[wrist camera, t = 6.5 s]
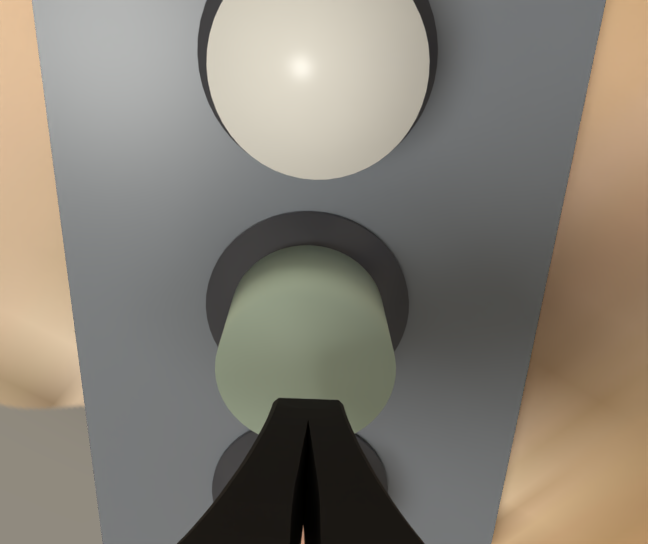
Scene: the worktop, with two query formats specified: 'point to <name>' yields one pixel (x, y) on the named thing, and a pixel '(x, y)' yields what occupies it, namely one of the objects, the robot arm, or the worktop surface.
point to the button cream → (318, 80)
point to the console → (307, 229)
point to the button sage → (306, 337)
